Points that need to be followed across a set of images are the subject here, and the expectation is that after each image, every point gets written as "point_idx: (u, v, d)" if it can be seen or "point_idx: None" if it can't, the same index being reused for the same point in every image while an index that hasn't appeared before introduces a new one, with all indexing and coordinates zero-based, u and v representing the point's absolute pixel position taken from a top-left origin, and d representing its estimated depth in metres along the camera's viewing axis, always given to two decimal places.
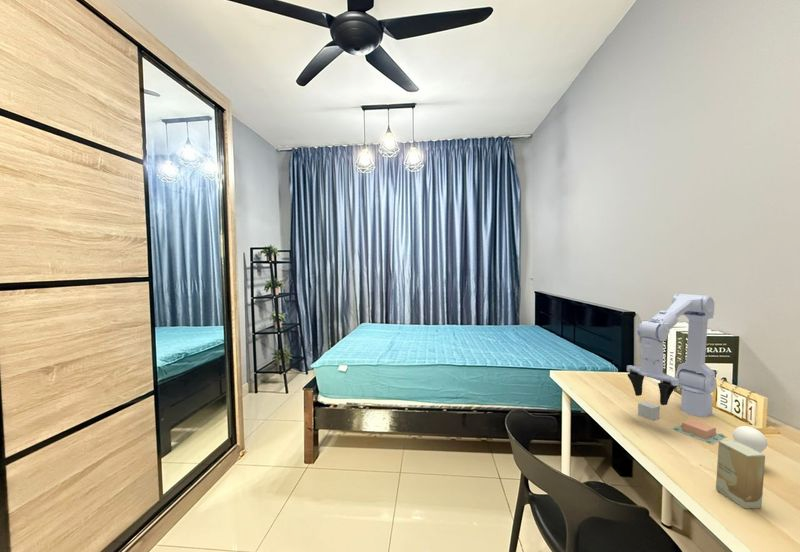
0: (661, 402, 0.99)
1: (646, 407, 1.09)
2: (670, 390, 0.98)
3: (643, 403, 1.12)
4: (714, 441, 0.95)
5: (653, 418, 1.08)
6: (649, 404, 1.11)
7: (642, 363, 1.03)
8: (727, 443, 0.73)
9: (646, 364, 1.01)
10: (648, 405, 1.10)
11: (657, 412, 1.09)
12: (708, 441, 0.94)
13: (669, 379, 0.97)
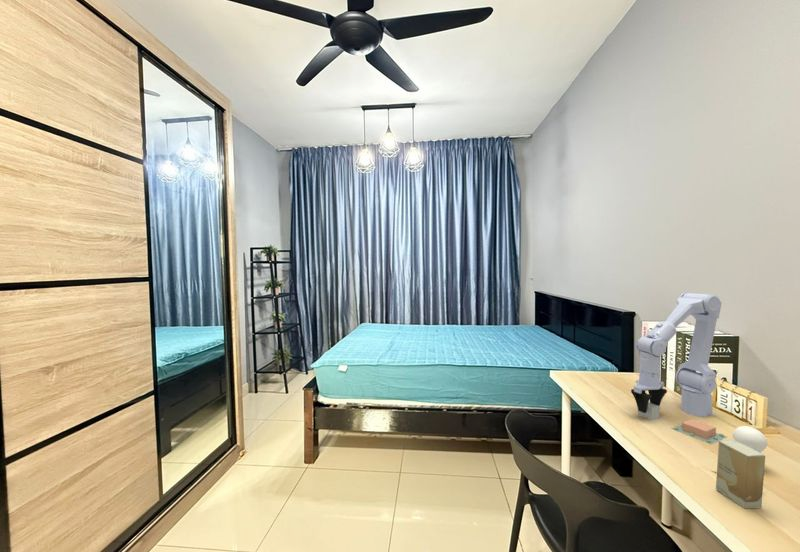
0: None
1: None
2: None
3: None
4: (714, 441, 0.95)
5: (653, 418, 1.08)
6: (649, 404, 1.11)
7: None
8: (727, 443, 0.73)
9: None
10: (648, 405, 1.10)
11: (657, 412, 1.09)
12: (708, 441, 0.94)
13: None
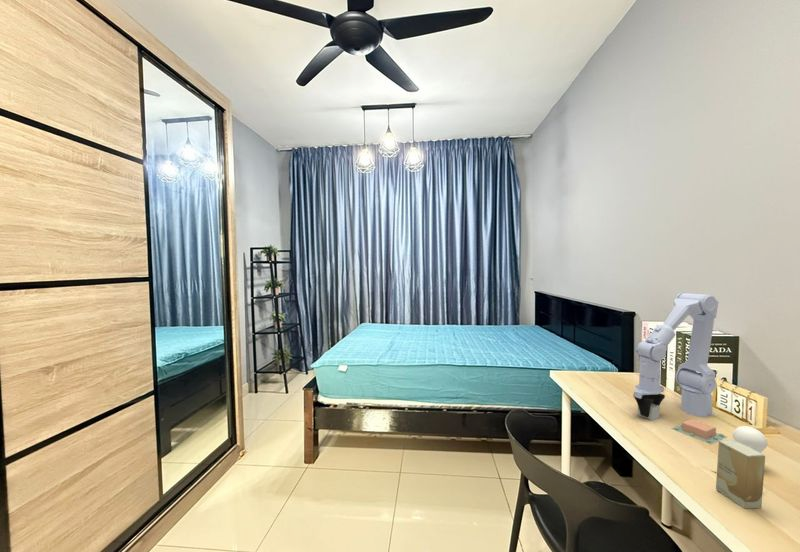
0: None
1: None
2: None
3: None
4: (714, 441, 0.95)
5: (653, 418, 1.08)
6: None
7: None
8: (727, 443, 0.73)
9: None
10: None
11: (657, 412, 1.09)
12: (708, 441, 0.94)
13: None
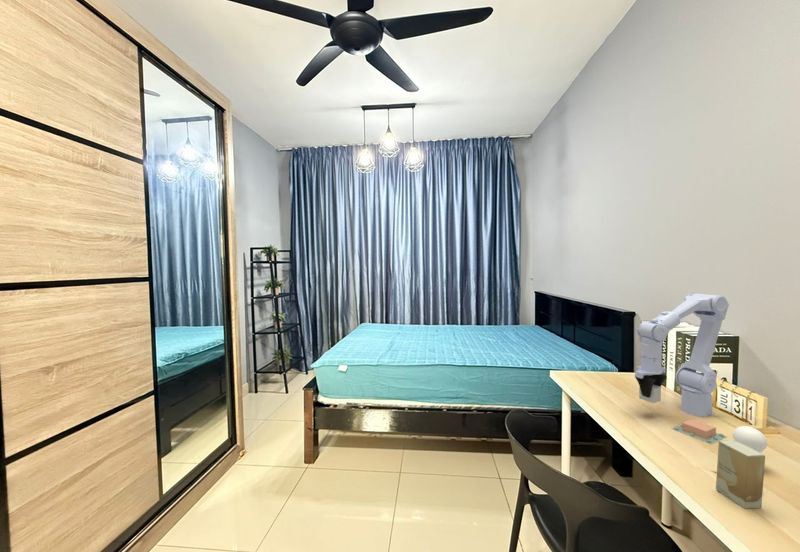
0: None
1: None
2: None
3: None
4: (714, 441, 0.95)
5: (654, 399, 1.08)
6: None
7: None
8: (727, 443, 0.73)
9: None
10: None
11: (658, 393, 1.09)
12: (708, 441, 0.94)
13: None
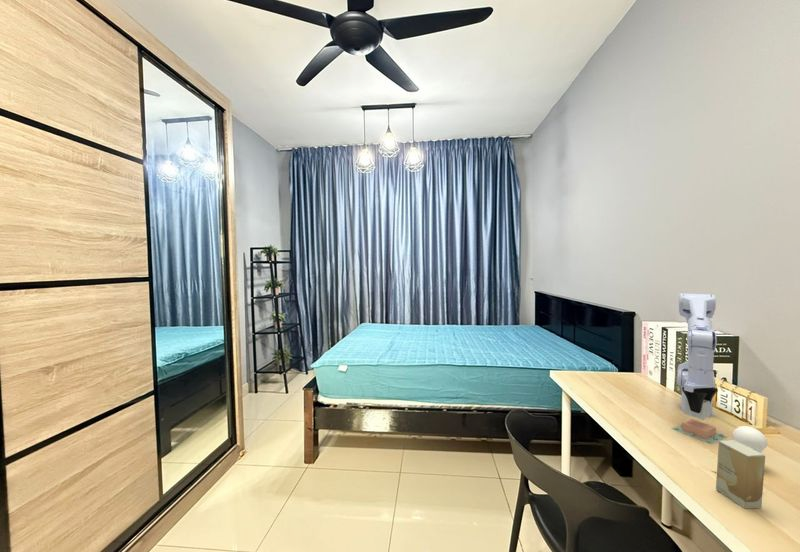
0: None
1: None
2: None
3: None
4: (714, 441, 0.95)
5: (703, 414, 0.97)
6: None
7: None
8: (727, 443, 0.73)
9: None
10: None
11: (707, 408, 0.98)
12: (708, 441, 0.94)
13: (685, 384, 0.98)
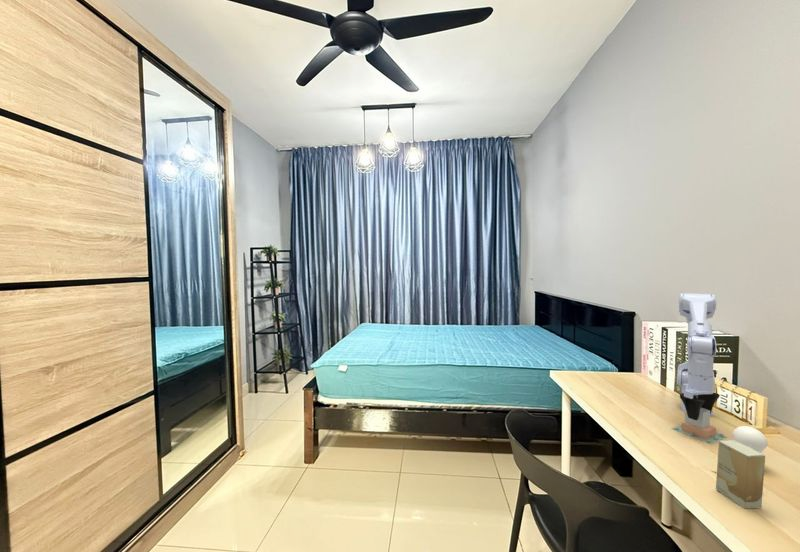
0: None
1: None
2: None
3: None
4: (714, 441, 0.95)
5: (703, 424, 0.97)
6: None
7: None
8: (727, 443, 0.73)
9: None
10: None
11: (707, 417, 0.98)
12: (708, 441, 0.94)
13: None
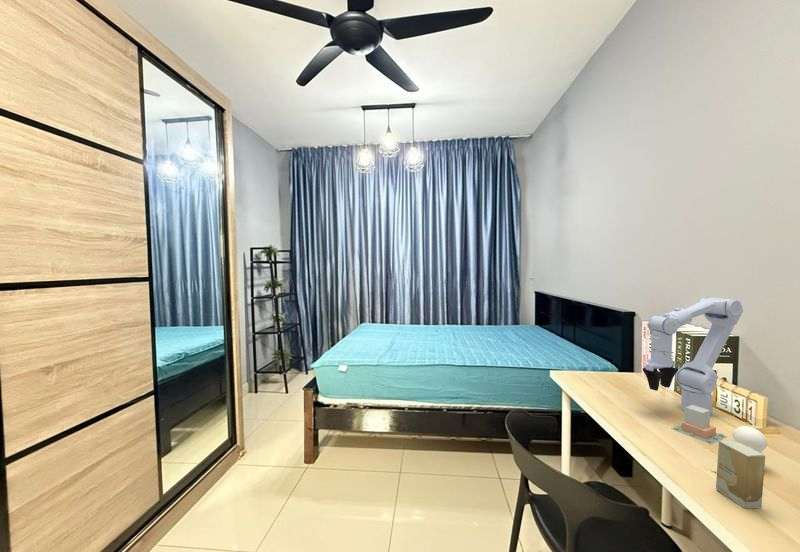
0: None
1: (695, 411, 0.99)
2: None
3: (691, 407, 1.01)
4: (714, 441, 0.95)
5: (703, 424, 0.97)
6: (698, 408, 1.00)
7: None
8: (727, 443, 0.73)
9: None
10: (698, 410, 0.99)
11: (707, 417, 0.98)
12: (708, 441, 0.94)
13: None
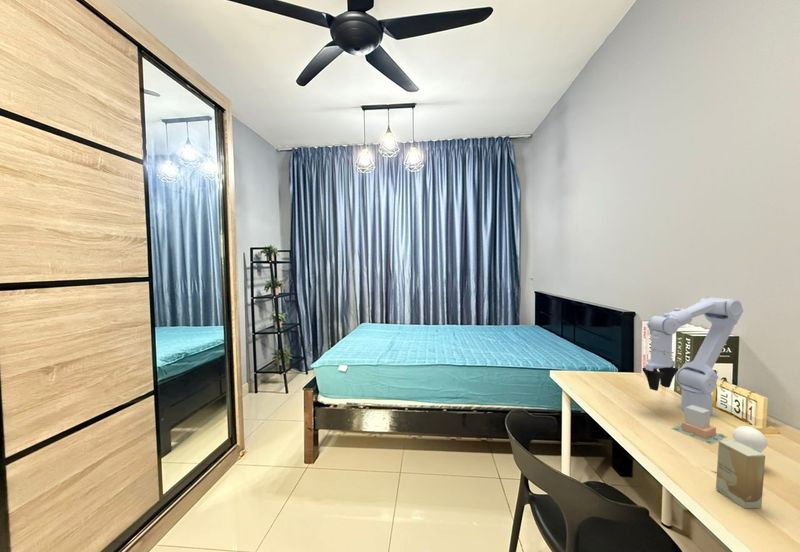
0: None
1: (695, 411, 0.99)
2: None
3: (691, 407, 1.01)
4: (714, 441, 0.95)
5: (703, 424, 0.97)
6: (698, 408, 1.00)
7: None
8: (727, 443, 0.73)
9: None
10: (698, 410, 0.99)
11: (707, 417, 0.98)
12: (708, 441, 0.94)
13: None
